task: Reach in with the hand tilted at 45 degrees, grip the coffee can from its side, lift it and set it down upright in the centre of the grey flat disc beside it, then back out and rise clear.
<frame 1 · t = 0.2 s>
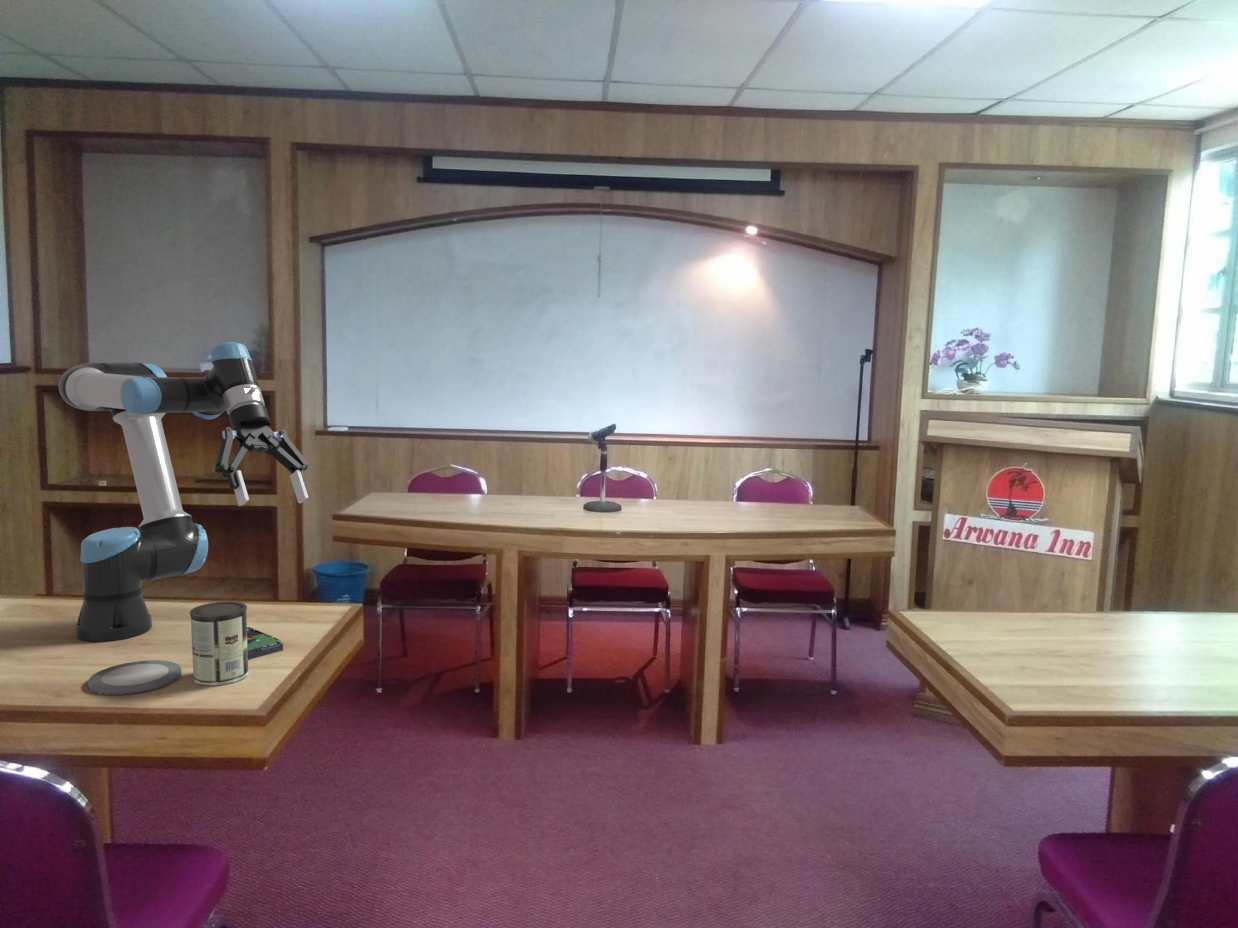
hand: (274, 501, 173), 35 cm above the table, tool tilted 30°, fingers open, 13 cm apart
grey flat disc: (135, 679, 168), on the table
disk drive: (244, 651, 187), on the table
coffee can: (220, 677, 171), on the table
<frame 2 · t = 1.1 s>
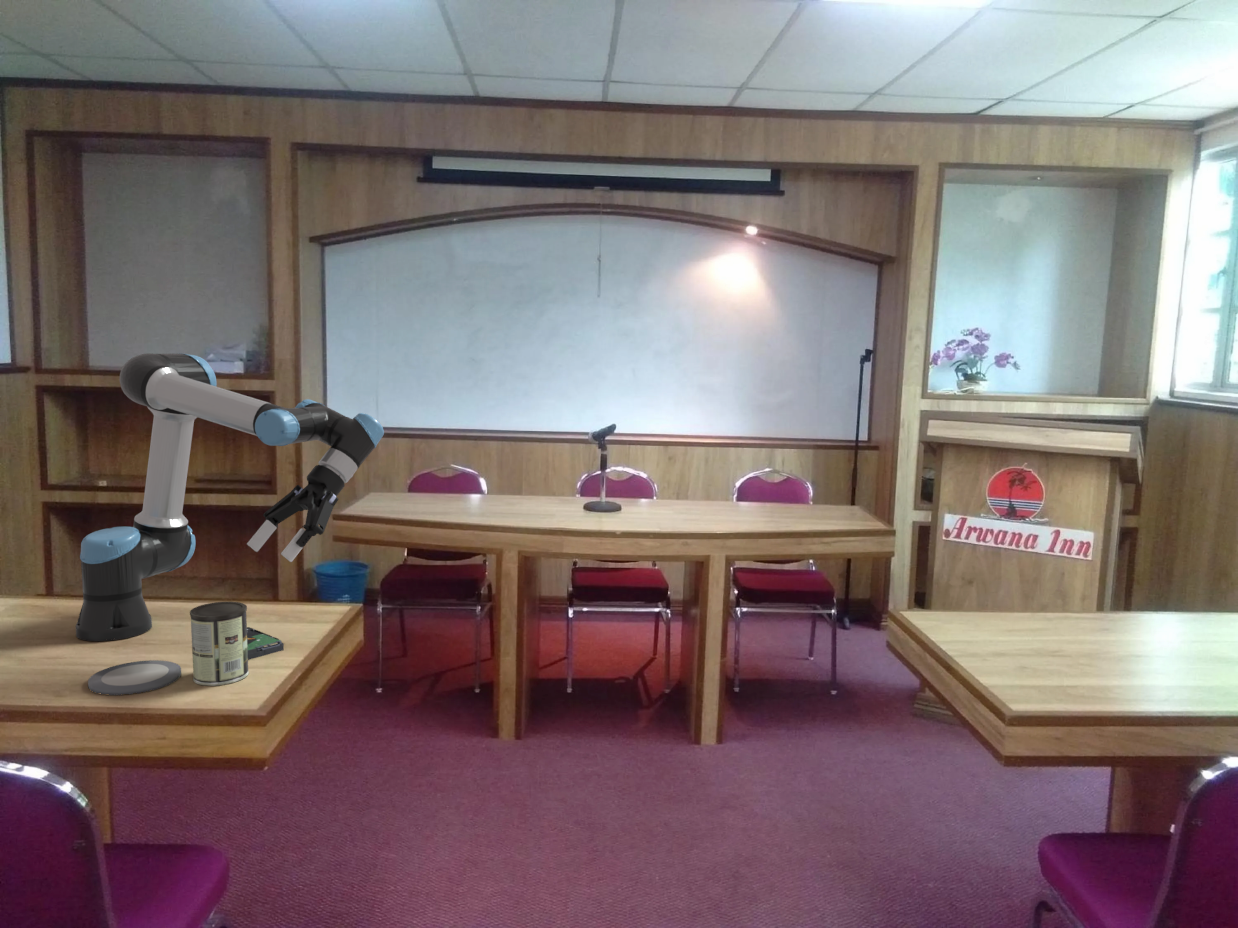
hand: (268, 553, 175), 24 cm above the table, tool tilted 45°, fingers open, 13 cm apart
nothing on the table moved.
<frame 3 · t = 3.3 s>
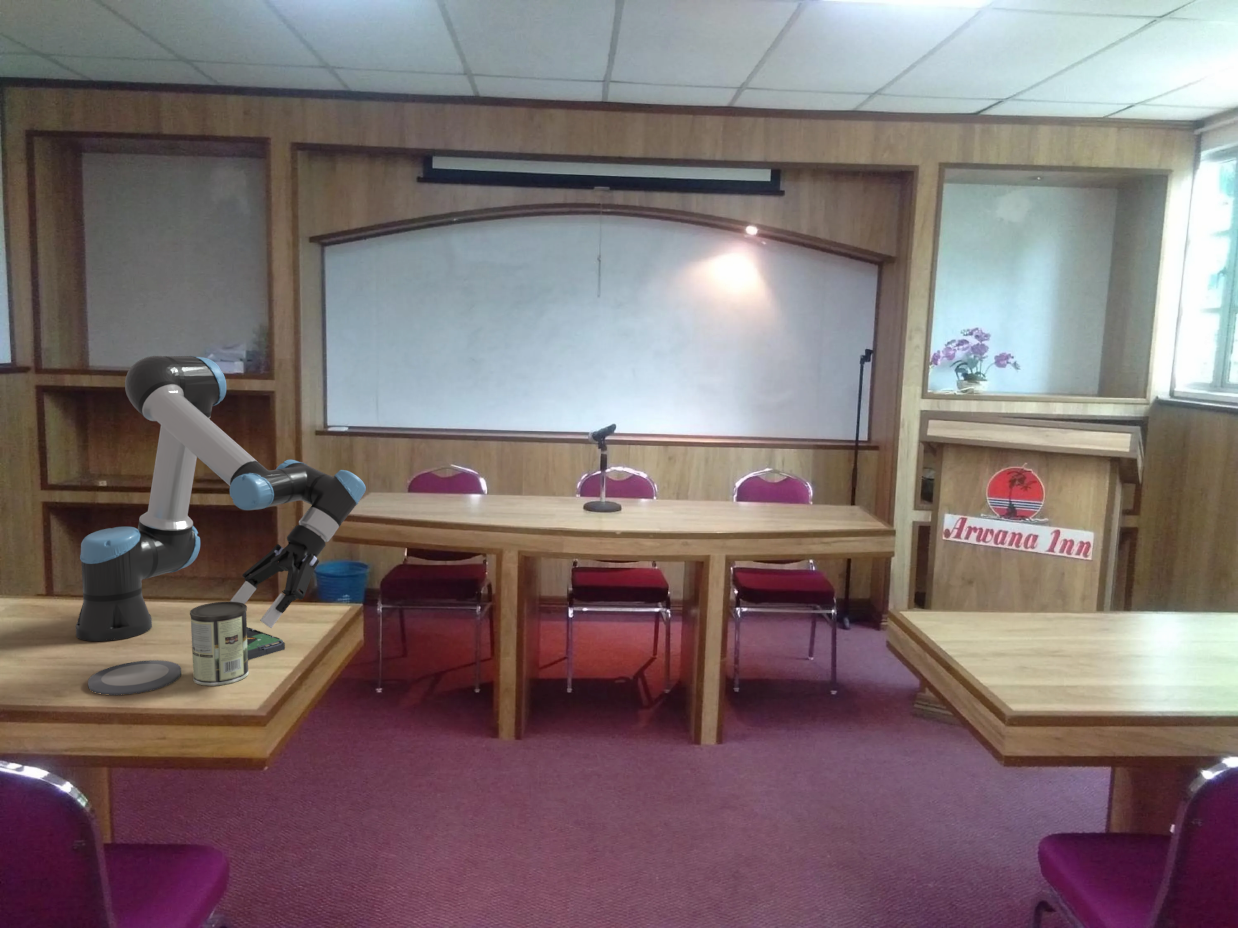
hand: (247, 617, 173), 11 cm above the table, tool tilted 45°, fingers open, 13 cm apart
nothing on the table moved.
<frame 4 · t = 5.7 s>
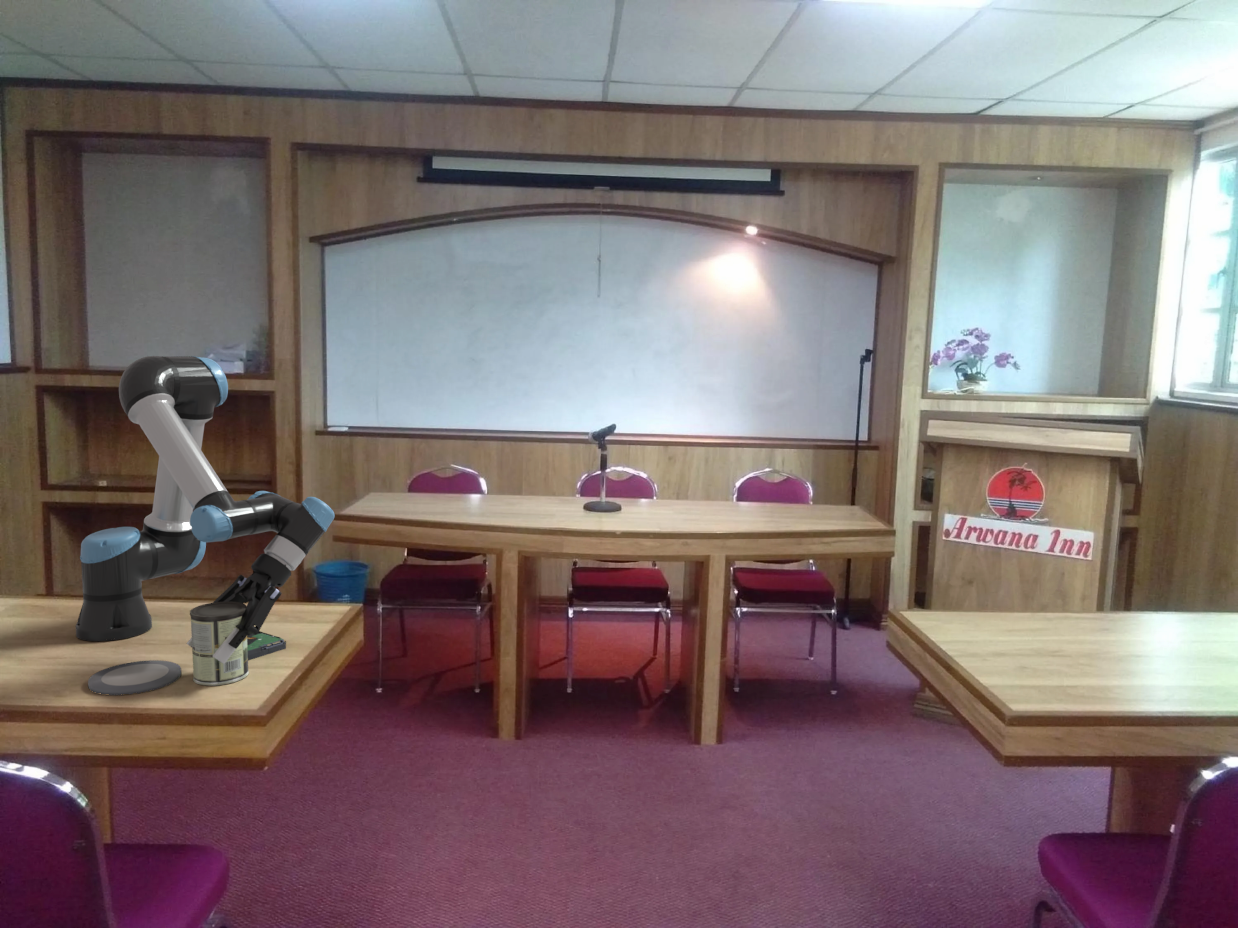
hand: (204, 653, 168), 6 cm above the table, tool tilted 45°, fingers closed on coffee can, 10 cm apart
coffee can: (220, 677, 171), on the table, touching gripper
everything else where it was.
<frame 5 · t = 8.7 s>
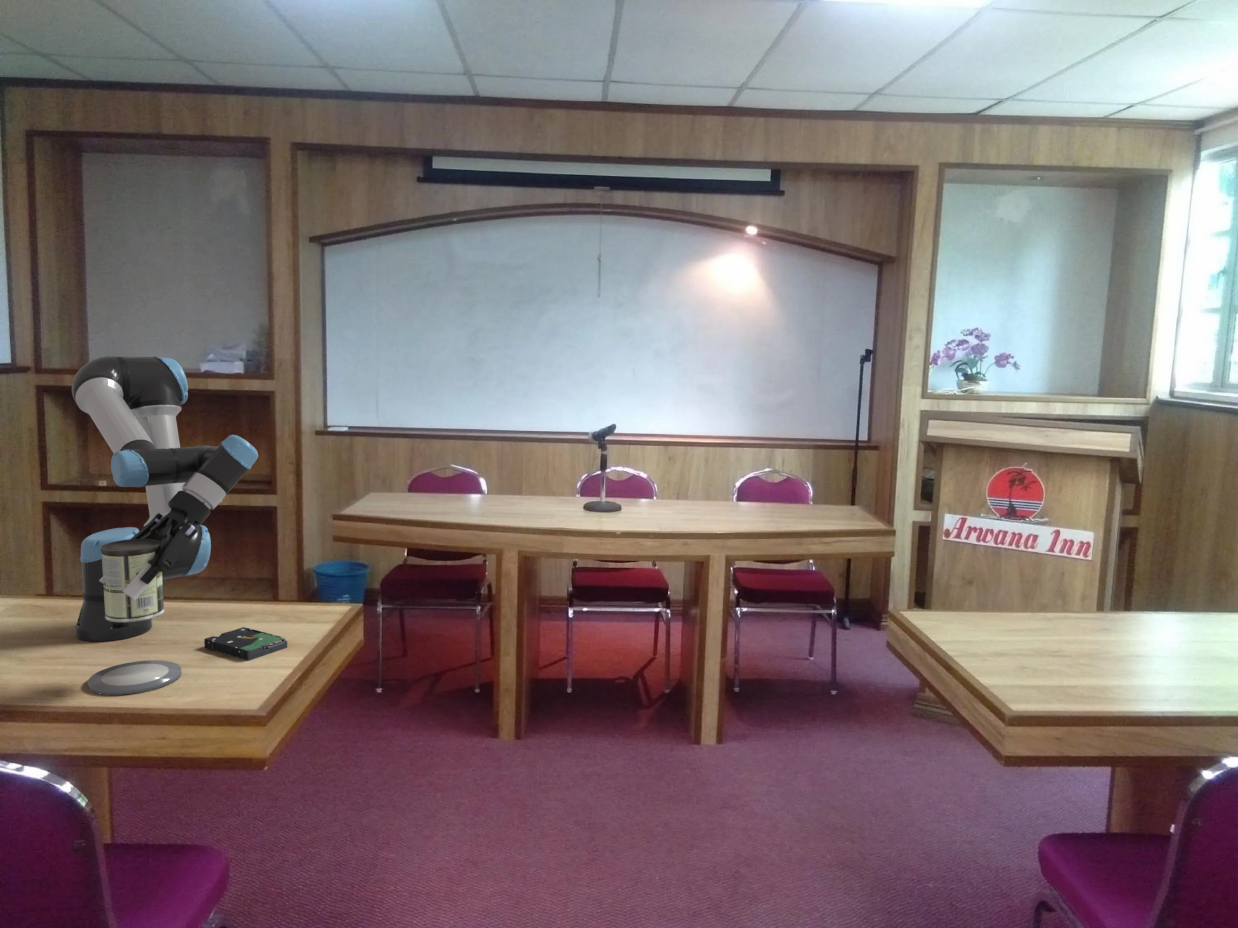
hand: (116, 590, 163), 19 cm above the table, tool tilted 45°, fingers closed on coffee can, 10 cm apart
coffee can: (134, 615, 166), point 13 cm above the table, touching gripper
everything else where it was.
when the fingers open (8 cm above the table, at t = 11.8 s): coffee can drops 1 cm, resting on grey flat disc.
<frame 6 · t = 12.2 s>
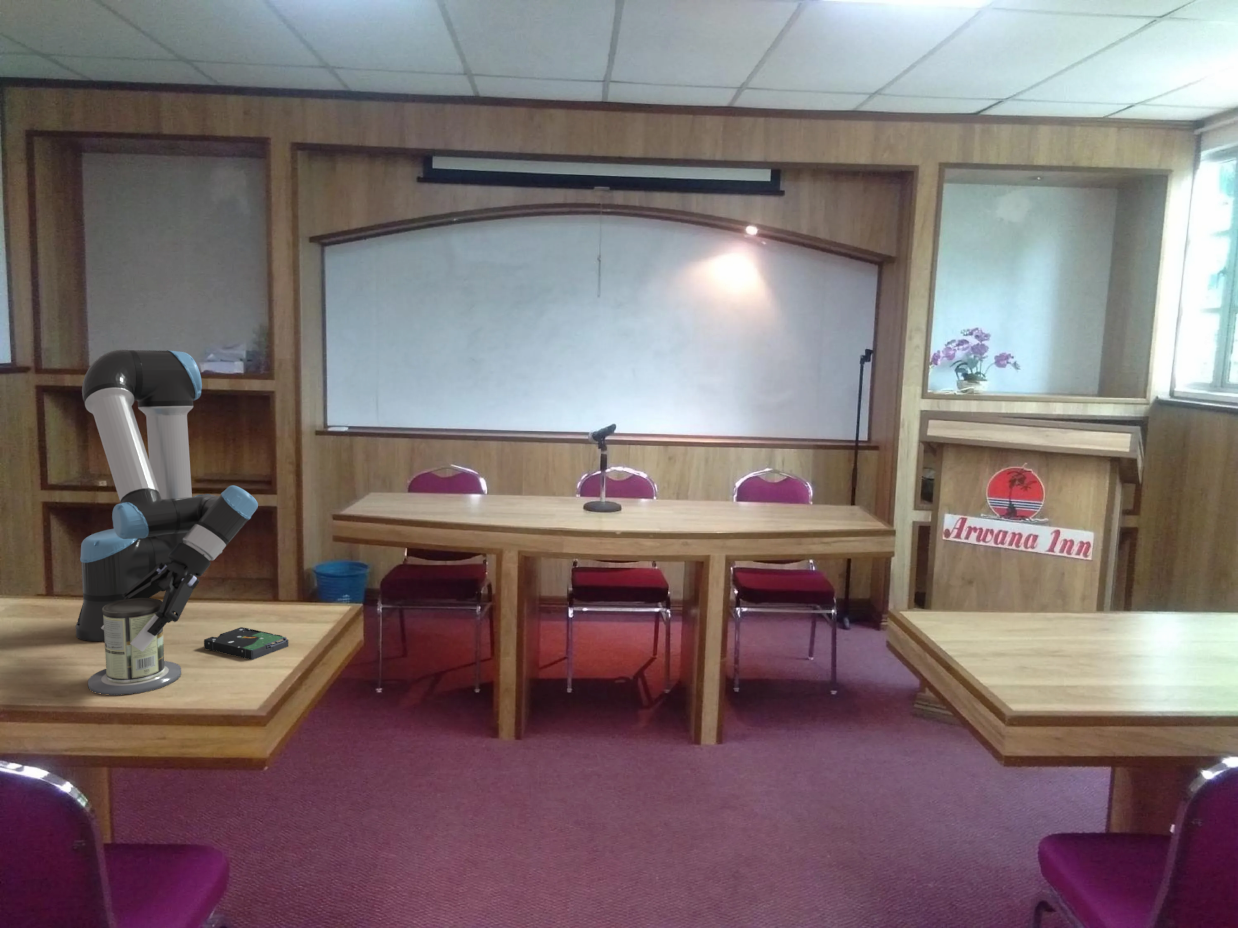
hand: (121, 639, 165), 9 cm above the table, tool tilted 45°, fingers open, 13 cm apart
coffee can: (135, 674, 168), point 1 cm above the table, touching grey flat disc
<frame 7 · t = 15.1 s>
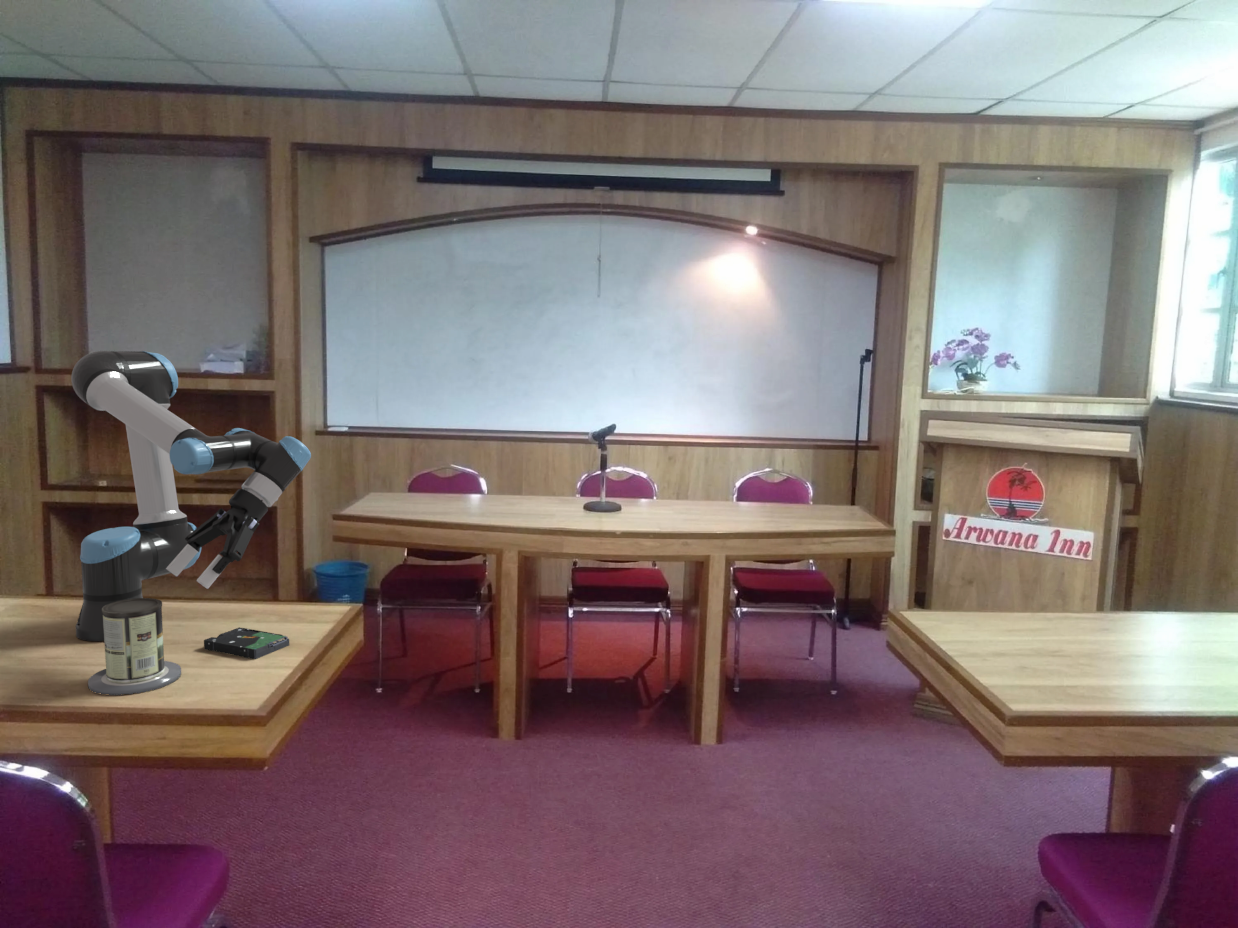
hand: (186, 578, 174), 18 cm above the table, tool tilted 45°, fingers open, 13 cm apart
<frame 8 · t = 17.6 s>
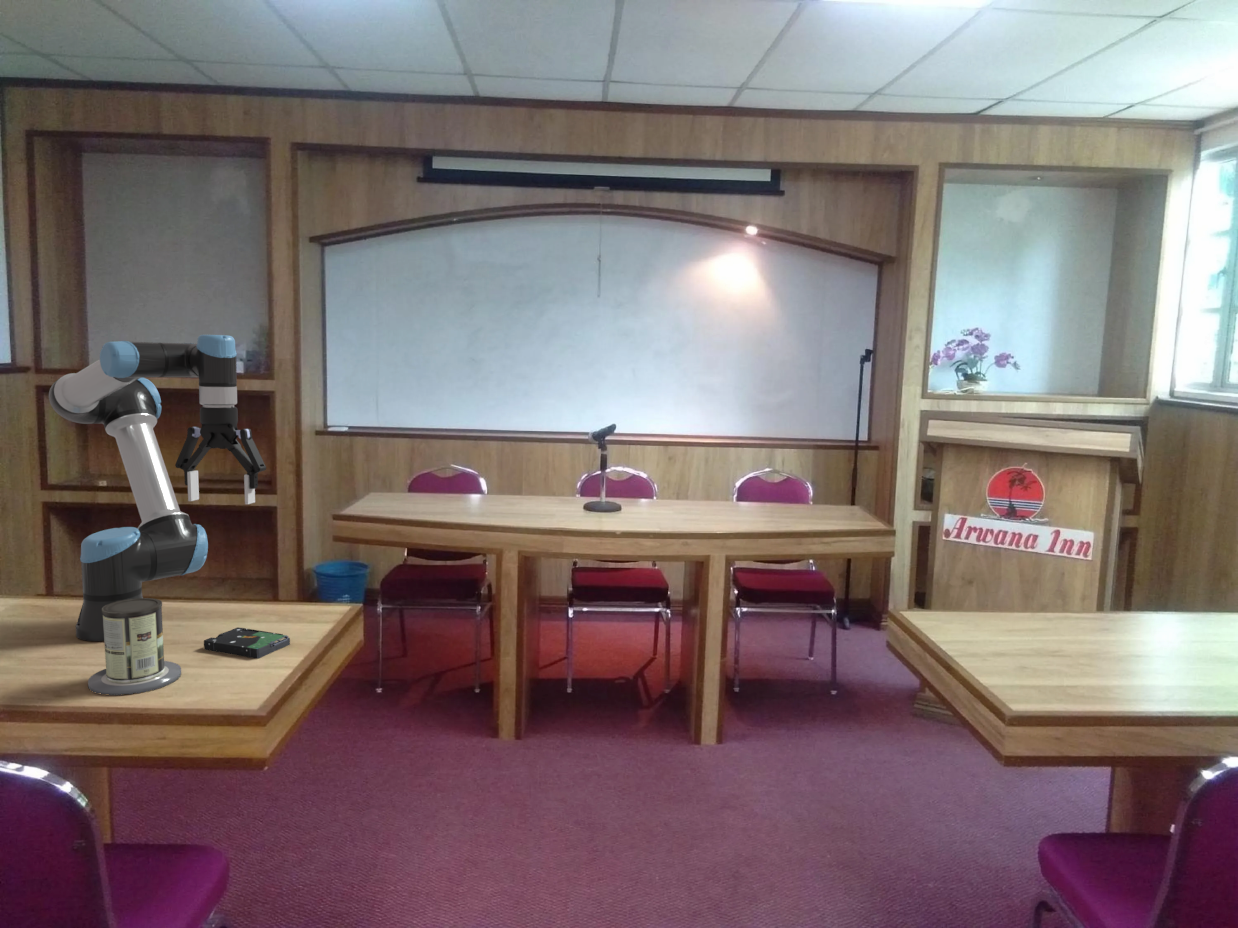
hand: (221, 501, 188), 32 cm above the table, tool pointing down, fingers open, 13 cm apart
at the end: coffee can inside the target area on the grey flat disc (0.0 cm from its centre), point 0.9 cm above the grey flat disc's base; coffee can tilted 0°; the gripper is holding nothing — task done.
